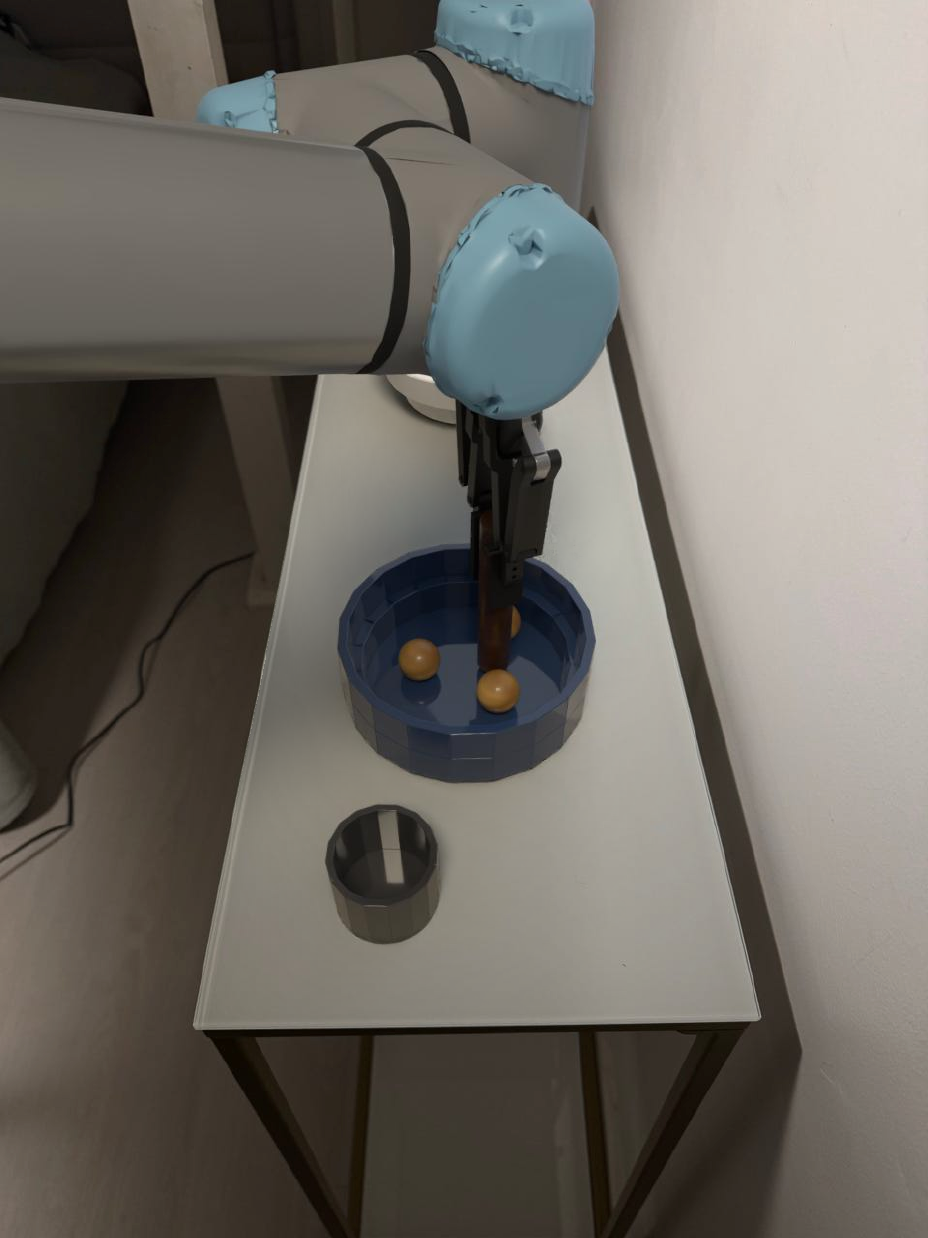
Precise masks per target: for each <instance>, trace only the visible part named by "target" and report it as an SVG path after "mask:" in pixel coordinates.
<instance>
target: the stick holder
mask: <svg viewBox="0 0 928 1238" xmlns="http://www.w3.org/2000/svg"><path fill="white" fill-rule="evenodd" d="M324 863H325V867H326V872H327V876H328V880H329V884H330V888H331V892H332V896H333V900H334V903H335V907H336V912H337V914H338V917H339V919H340V921H341V922H342V924H343V925H344V926H345V927H346V929H347V930H348V931H349V932H350V933H352V935H354V936H355V937H357V938H358V939H360V940H362V941H364V942H368V943H370V944H371V943H372V944H376V945H392V944H398V943H401V942H404V941H406V940H409V939H411V938H413V937H414V936H416V935H418V934H419V933H420V932H422V930H424V928H425V927H427V925H428V924H429V923H430V922H431V920H432V918H433V917H434V915H435V913H436V912H437V911H436V910H437V908H438V905H439V901H440V886H441V885H440V883H441V881H440V861H439V844H438V841H437V839H436V836H435V834H434V831H433V829H432V827H431V825H430V824H429V823H428V822H427V821H426V820H425V819H424V818H423V817H422V816H420V814H419V813H417V812H416V811H414V810H411V809H409V808H406V807H404V806H402V805H398V804H385V803H384V804H381V803H377V804H374V805H370V806H366V807H363V808H361V809H358V810H355V811H354V812H352V814H349V816H347V817H346V818H345V819H343V820H342V821H341V822H340V823H338V825H337V827H336V828H335V830H334V831H333V833H332V835H331V836H330V838H329V840H328V842H327V845H326V851H325V859H324Z"/></svg>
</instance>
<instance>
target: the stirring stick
mask: <svg viewBox="0 0 928 1238" xmlns="http://www.w3.org/2000/svg"><path fill="white" fill-rule="evenodd" d="M492 540H493V509H490V510H487V511H485V512H484V513H483V514H482V515H481V517H480V528H479V583H478V637H477V664H478V666H479V667H480V669H481V670H483V671H484V672H486V673H487V672H489V671H491V670H496V669H500V670H506V669H507V667H508V666H509V662H510V646H511V629H512V613H513V605H509V606H506V607H502V608H498V609H494V610H491V611H489V609H488V607H487V605H486V583H487V554H486V552H485V549H484V543H488V541H492Z"/></svg>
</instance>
